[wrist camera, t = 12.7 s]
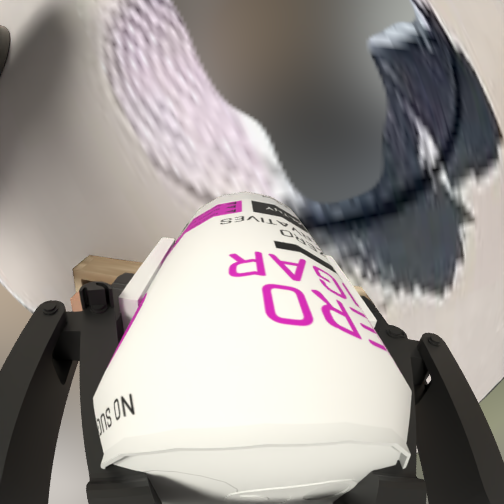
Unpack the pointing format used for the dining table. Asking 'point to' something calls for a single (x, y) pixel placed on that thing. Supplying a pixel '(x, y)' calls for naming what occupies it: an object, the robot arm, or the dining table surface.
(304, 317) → the supplement can
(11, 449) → the robot arm
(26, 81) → the dining table surface
